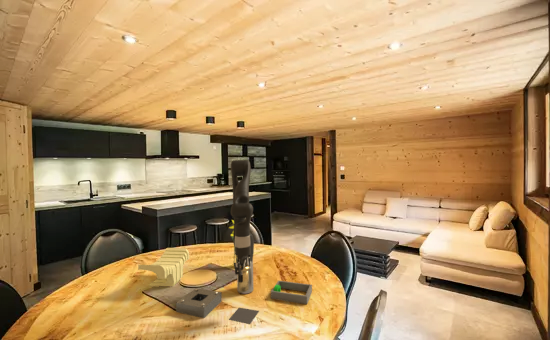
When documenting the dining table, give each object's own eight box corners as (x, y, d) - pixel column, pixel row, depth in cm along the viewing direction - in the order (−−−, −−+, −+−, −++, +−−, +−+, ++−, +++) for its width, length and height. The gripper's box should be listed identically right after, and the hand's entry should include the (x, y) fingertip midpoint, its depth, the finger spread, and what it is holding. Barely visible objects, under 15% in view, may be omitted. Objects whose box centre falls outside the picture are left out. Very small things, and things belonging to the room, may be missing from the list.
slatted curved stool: (165, 297, 146) (164, 265, 145) (139, 295, 148) (138, 264, 147) (189, 274, 175) (188, 248, 175) (167, 273, 177) (166, 247, 177)
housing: (196, 298, 144) (195, 287, 144) (221, 302, 139) (221, 291, 139) (176, 313, 129) (176, 301, 129) (204, 319, 124) (204, 306, 123)
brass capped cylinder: (240, 285, 129) (240, 263, 129) (251, 287, 127) (251, 264, 127) (234, 291, 124) (234, 268, 123) (246, 292, 122) (246, 269, 122)
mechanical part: (271, 295, 150) (270, 282, 150) (280, 297, 147) (280, 283, 147) (262, 306, 138) (261, 291, 138) (272, 308, 136) (272, 293, 136)
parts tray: (278, 287, 155) (278, 280, 155) (312, 291, 148) (311, 284, 148) (270, 298, 142) (270, 291, 141) (307, 304, 135) (307, 296, 135)
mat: (239, 308, 133) (238, 307, 133) (259, 311, 129) (259, 310, 129) (228, 320, 122) (228, 319, 122) (249, 324, 119) (249, 323, 119)
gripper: (242, 239, 133) (242, 272, 133) (228, 248, 120) (229, 285, 120) (255, 241, 131) (256, 274, 131) (243, 249, 117) (243, 287, 117)
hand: (243, 279), depth 125 cm, fingers closed on brass capped cylinder, 5 cm apart
